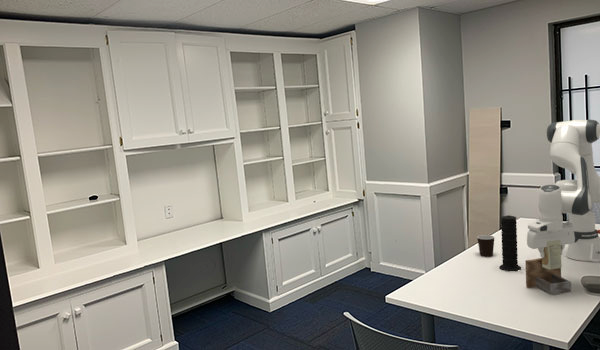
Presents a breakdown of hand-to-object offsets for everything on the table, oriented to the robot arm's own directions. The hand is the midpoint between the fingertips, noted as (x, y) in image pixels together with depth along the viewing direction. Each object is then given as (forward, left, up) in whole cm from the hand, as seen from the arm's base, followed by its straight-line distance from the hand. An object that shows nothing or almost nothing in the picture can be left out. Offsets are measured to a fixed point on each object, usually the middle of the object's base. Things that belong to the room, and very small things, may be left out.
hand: (551, 256), depth 194 cm
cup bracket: (0, 0, -15) cm, 15 cm away
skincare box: (0, 0, -5) cm, 5 cm away
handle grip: (0, -29, -15) cm, 33 cm away
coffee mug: (-2, -52, -15) cm, 54 cm away
